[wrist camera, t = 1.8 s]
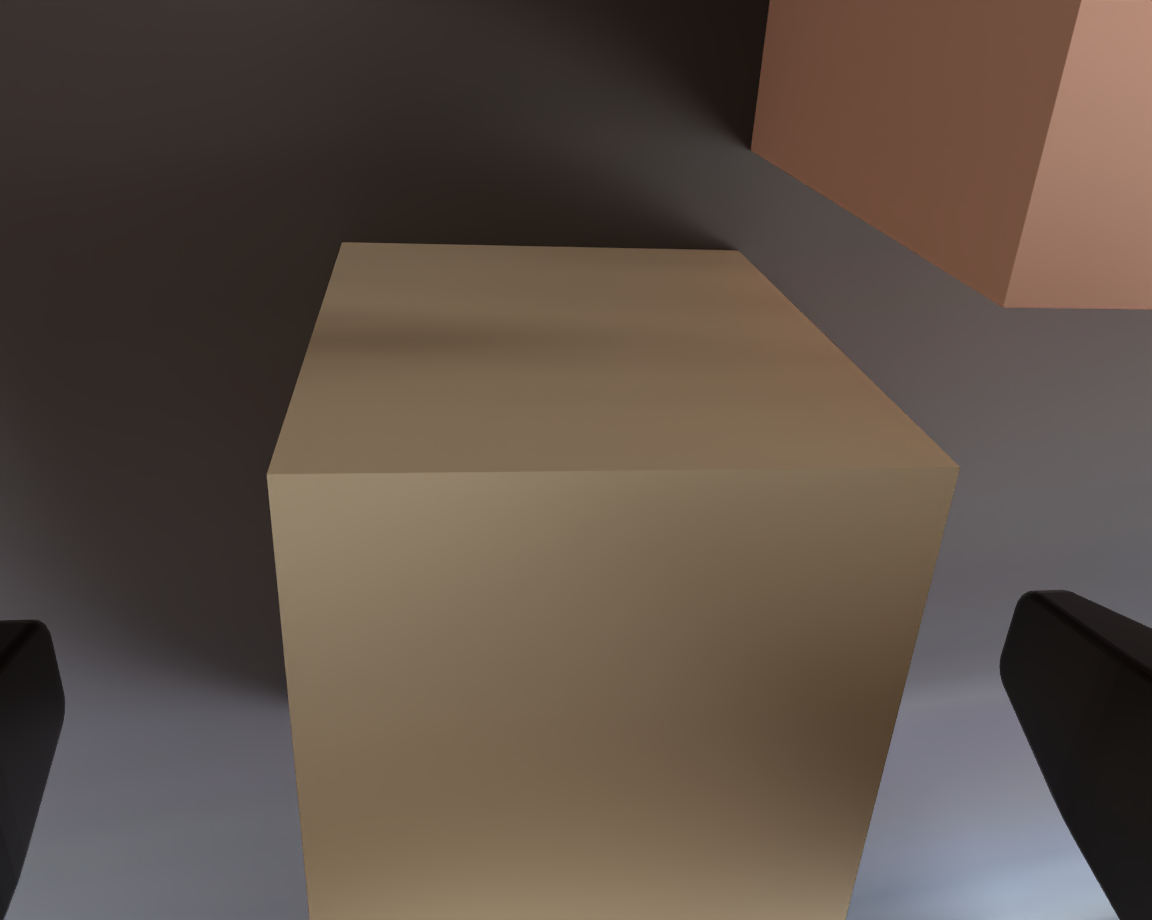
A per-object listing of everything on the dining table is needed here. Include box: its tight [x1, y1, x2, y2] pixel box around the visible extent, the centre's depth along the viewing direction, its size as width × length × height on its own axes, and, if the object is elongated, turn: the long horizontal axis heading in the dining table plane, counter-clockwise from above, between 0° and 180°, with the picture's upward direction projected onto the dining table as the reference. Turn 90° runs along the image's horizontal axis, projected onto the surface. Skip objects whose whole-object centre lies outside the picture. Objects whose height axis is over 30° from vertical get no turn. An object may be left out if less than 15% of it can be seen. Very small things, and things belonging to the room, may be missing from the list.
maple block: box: [267, 242, 960, 920], centre depth 9 cm, size 6×4×5 cm, turn 177°
